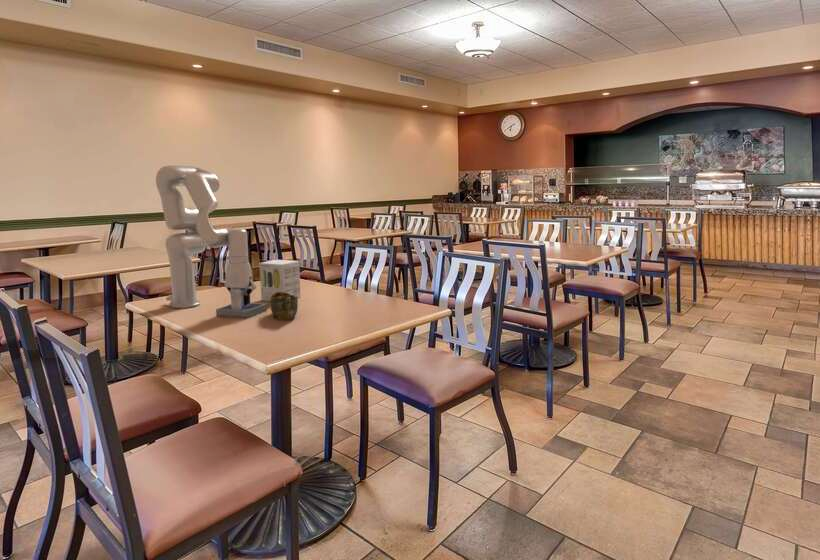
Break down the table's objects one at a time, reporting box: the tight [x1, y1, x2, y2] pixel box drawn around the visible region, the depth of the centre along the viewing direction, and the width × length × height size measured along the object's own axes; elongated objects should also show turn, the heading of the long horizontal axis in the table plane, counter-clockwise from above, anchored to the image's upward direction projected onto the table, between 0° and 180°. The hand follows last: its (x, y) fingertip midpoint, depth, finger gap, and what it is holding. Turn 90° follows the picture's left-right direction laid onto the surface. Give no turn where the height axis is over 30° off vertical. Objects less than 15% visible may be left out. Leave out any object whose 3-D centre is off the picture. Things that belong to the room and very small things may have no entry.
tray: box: [215, 302, 267, 320], centre depth 214 cm, size 14×14×3 cm
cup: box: [269, 292, 299, 321], centre depth 208 cm, size 13×20×10 cm, turn 177°
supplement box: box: [259, 259, 301, 302], centre depth 242 cm, size 13×13×18 cm
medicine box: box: [230, 287, 252, 310], centre depth 213 cm, size 8×4×9 cm, turn 168°
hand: (241, 303), depth 214 cm, fingers closed on medicine box, 4 cm apart
